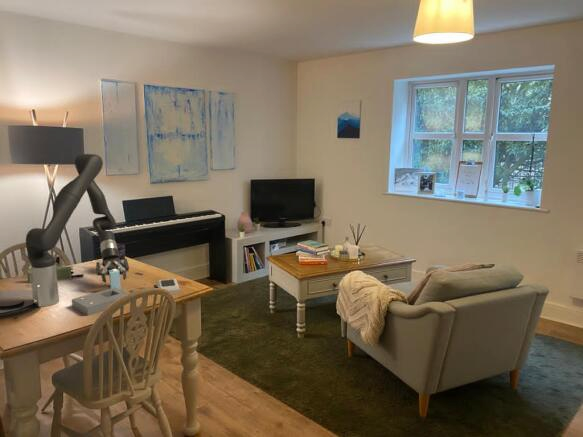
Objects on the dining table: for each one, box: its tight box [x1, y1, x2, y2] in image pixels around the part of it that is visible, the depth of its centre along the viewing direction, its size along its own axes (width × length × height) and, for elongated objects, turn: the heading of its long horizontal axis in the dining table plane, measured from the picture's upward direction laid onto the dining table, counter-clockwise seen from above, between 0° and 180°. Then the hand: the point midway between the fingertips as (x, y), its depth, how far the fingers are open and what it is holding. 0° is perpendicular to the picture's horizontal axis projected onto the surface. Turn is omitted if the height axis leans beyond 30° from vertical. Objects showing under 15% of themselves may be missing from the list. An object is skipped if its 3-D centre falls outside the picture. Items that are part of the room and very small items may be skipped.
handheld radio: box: [26, 265, 84, 284], centre depth 226 cm, size 7×3×25 cm
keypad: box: [156, 278, 181, 295], centre depth 215 cm, size 10×4×15 cm
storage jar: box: [106, 242, 126, 276], centre depth 238 cm, size 10×10×15 cm
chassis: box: [71, 287, 129, 316], centre depth 195 cm, size 20×14×4 cm
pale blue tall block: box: [108, 269, 122, 290], centre depth 211 cm, size 4×4×11 cm
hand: (115, 280), depth 210 cm, fingers open, 8 cm apart
